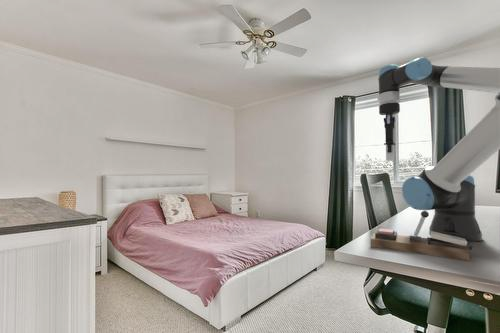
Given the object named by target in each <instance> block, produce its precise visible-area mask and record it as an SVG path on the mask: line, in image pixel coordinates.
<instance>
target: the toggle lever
mask: <svg viewBox="0 0 500 333" xmlns="http://www.w3.org/2000/svg"><path fill="white" fill-rule="evenodd" d="M420 216H421V217H420V219H419V221H418V224H417V226H416V227H415V230H414V233H413V236H418V237H419V234H420V231H421V229H422V228H423V225H424V223H425V220H426V218H428V217H429V216H430V214H429V212H428V210H426V211H424V210H421V213H420Z"/></svg>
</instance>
